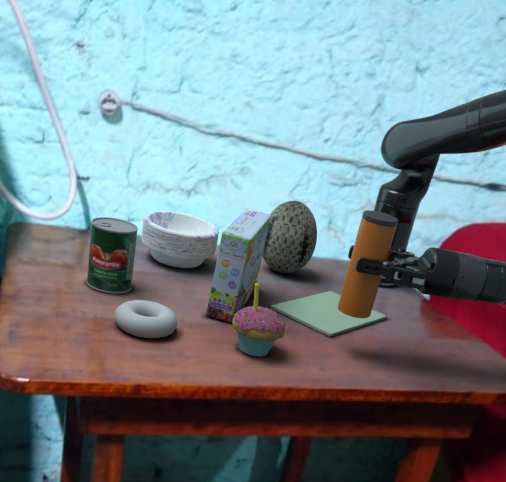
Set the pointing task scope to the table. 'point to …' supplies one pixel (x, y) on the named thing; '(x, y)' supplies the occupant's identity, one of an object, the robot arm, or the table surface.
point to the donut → (145, 319)
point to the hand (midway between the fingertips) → (353, 258)
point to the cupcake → (257, 327)
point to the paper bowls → (179, 238)
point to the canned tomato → (111, 255)
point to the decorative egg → (290, 237)
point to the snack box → (238, 264)
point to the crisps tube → (373, 247)
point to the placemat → (324, 314)
